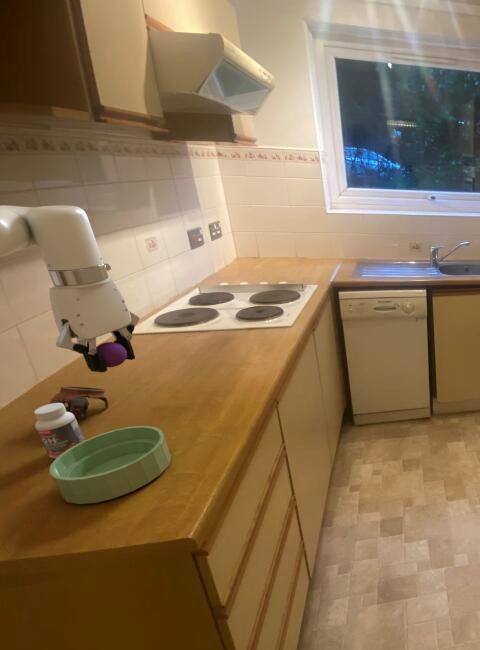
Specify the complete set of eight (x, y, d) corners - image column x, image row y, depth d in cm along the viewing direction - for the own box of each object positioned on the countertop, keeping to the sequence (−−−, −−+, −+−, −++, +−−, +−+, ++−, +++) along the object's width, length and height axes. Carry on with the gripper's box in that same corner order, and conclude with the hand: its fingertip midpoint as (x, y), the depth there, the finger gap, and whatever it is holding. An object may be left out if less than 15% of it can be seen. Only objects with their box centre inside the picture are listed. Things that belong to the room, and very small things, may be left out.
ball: (90, 370, 85) (81, 347, 83) (116, 359, 89) (107, 337, 87) (112, 372, 84) (103, 349, 82) (137, 361, 88) (129, 339, 87)
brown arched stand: (42, 422, 95) (51, 384, 96) (100, 423, 102) (108, 388, 103) (47, 429, 87) (57, 388, 88) (109, 430, 94) (118, 392, 95)
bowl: (37, 499, 73) (23, 473, 71) (126, 445, 87) (117, 421, 85) (112, 512, 71) (100, 485, 68) (191, 454, 84) (184, 430, 82)
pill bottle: (46, 463, 82) (25, 419, 78) (51, 448, 86) (31, 406, 82) (85, 452, 85) (66, 409, 81) (88, 439, 89) (70, 397, 85)
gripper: (109, 264, 88) (138, 346, 95) (6, 287, 72) (49, 383, 79) (141, 266, 87) (168, 349, 94) (44, 289, 71) (84, 387, 78)
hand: (113, 364), depth 86 cm, fingers closed on ball, 4 cm apart
